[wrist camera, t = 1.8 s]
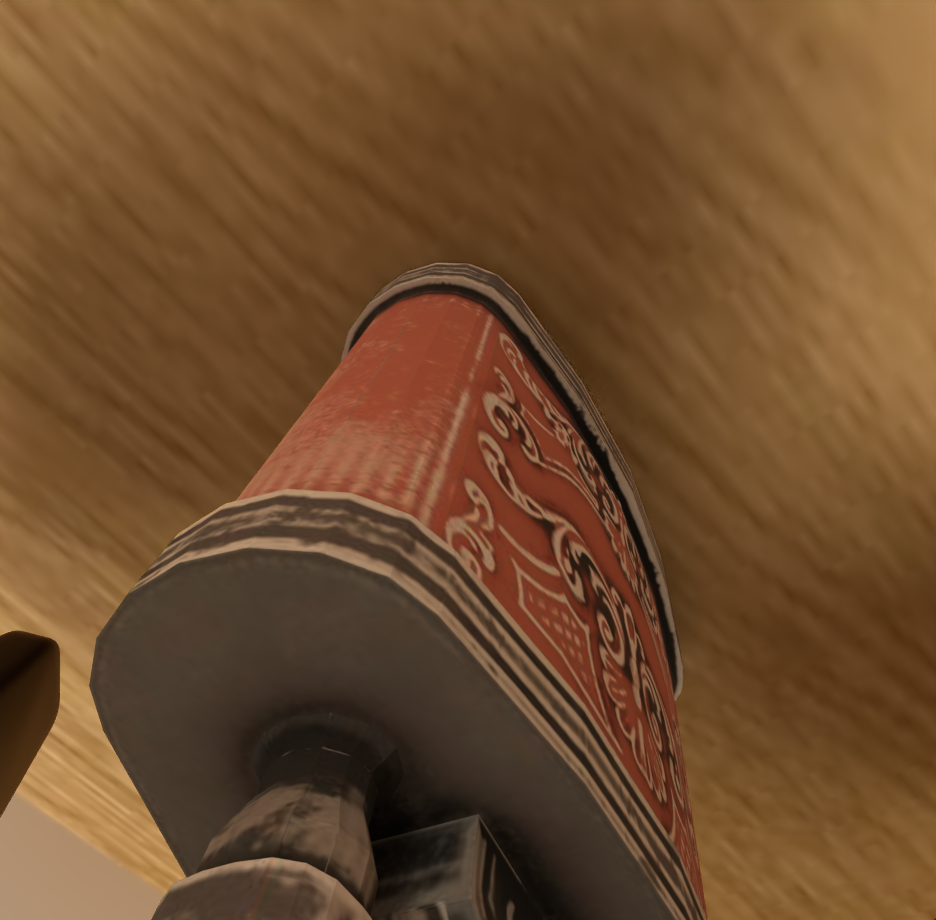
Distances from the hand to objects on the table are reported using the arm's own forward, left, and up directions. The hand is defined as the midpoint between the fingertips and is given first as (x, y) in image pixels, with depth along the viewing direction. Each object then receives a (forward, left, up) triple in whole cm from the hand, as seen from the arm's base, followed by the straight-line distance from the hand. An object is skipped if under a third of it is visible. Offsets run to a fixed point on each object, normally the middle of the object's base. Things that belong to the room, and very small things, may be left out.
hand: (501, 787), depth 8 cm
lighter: (0, 0, -6) cm, 6 cm away
